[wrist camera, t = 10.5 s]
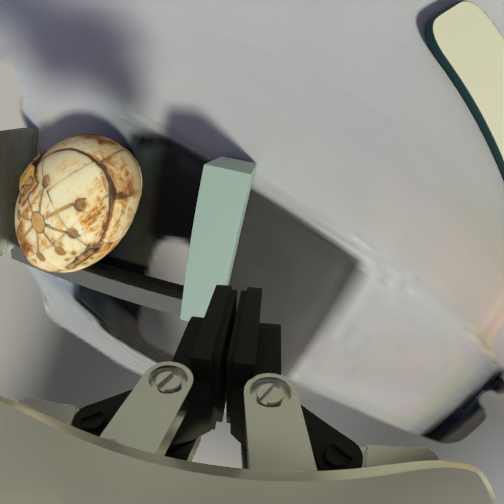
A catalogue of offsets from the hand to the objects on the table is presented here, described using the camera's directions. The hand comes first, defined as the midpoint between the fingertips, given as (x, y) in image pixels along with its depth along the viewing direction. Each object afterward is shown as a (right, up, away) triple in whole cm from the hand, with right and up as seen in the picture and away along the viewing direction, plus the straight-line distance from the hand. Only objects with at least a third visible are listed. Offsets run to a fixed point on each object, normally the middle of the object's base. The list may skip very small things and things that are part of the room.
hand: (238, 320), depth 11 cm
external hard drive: (+28, +19, +8) cm, 35 cm away
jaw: (-2, +5, +15) cm, 16 cm away
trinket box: (-17, +8, +16) cm, 24 cm away
